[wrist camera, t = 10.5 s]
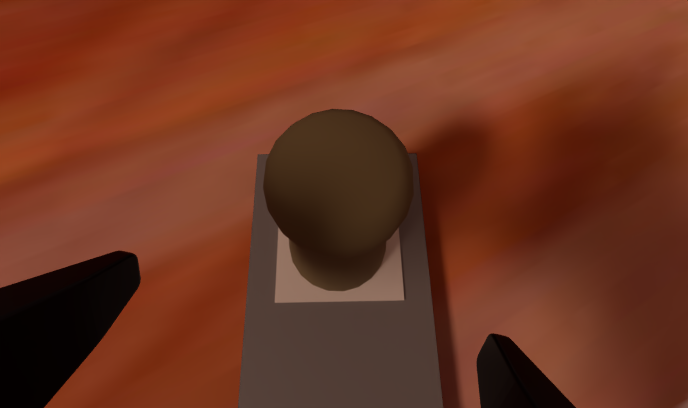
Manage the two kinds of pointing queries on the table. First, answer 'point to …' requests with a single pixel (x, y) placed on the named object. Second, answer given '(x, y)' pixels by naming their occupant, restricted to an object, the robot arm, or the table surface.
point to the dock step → (339, 325)
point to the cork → (338, 195)
